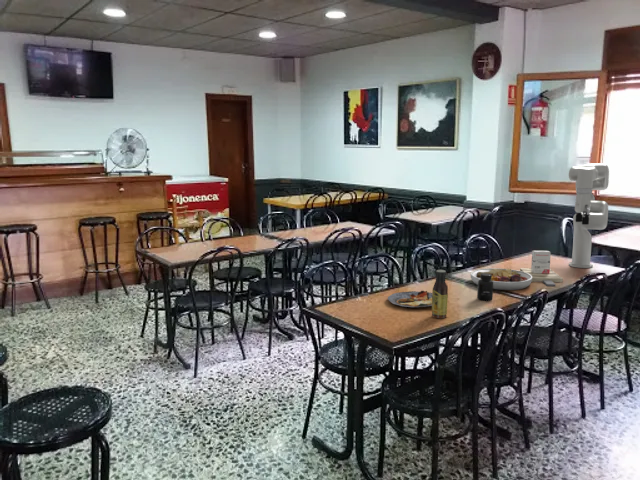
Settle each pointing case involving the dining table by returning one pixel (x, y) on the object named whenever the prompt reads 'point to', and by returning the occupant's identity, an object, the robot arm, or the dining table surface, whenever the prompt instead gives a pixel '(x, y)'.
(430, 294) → the food plate
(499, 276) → the bowl
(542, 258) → the ink box
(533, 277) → the birch board
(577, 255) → the robot arm
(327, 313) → the dining table surface
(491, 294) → the supplement bottle
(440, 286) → the sauce bottle
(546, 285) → the grey mark
